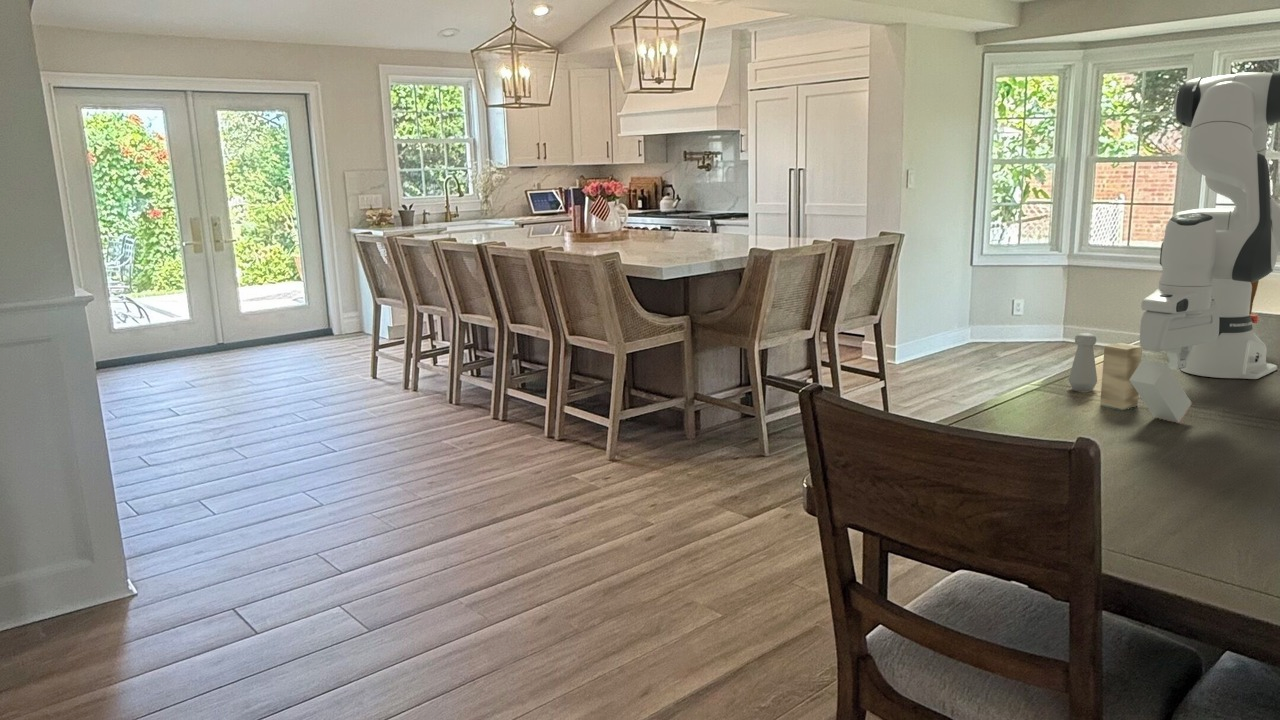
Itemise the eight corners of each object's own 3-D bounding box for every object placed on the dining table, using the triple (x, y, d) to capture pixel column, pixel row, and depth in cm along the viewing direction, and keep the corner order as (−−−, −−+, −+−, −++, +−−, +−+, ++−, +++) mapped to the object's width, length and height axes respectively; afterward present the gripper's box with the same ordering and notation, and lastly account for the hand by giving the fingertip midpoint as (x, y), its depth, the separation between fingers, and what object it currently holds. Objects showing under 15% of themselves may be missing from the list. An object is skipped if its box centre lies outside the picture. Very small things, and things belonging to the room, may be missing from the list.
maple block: (1115, 402, 191) (1119, 342, 188) (1137, 406, 187) (1142, 346, 184) (1100, 405, 189) (1104, 345, 186) (1122, 410, 184) (1127, 349, 182)
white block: (1167, 398, 179) (1142, 359, 173) (1192, 403, 175) (1167, 364, 169) (1154, 418, 178) (1129, 379, 172) (1179, 423, 174) (1154, 384, 168)
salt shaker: (1099, 393, 198) (1103, 336, 196) (1071, 393, 200) (1075, 336, 197) (1092, 387, 204) (1095, 331, 201) (1065, 386, 205) (1068, 331, 202)
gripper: (1199, 292, 179) (1192, 359, 182) (1135, 301, 170) (1130, 372, 173) (1232, 295, 174) (1224, 364, 177) (1168, 305, 164) (1161, 378, 167)
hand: (1177, 368), depth 175 cm, fingers closed
